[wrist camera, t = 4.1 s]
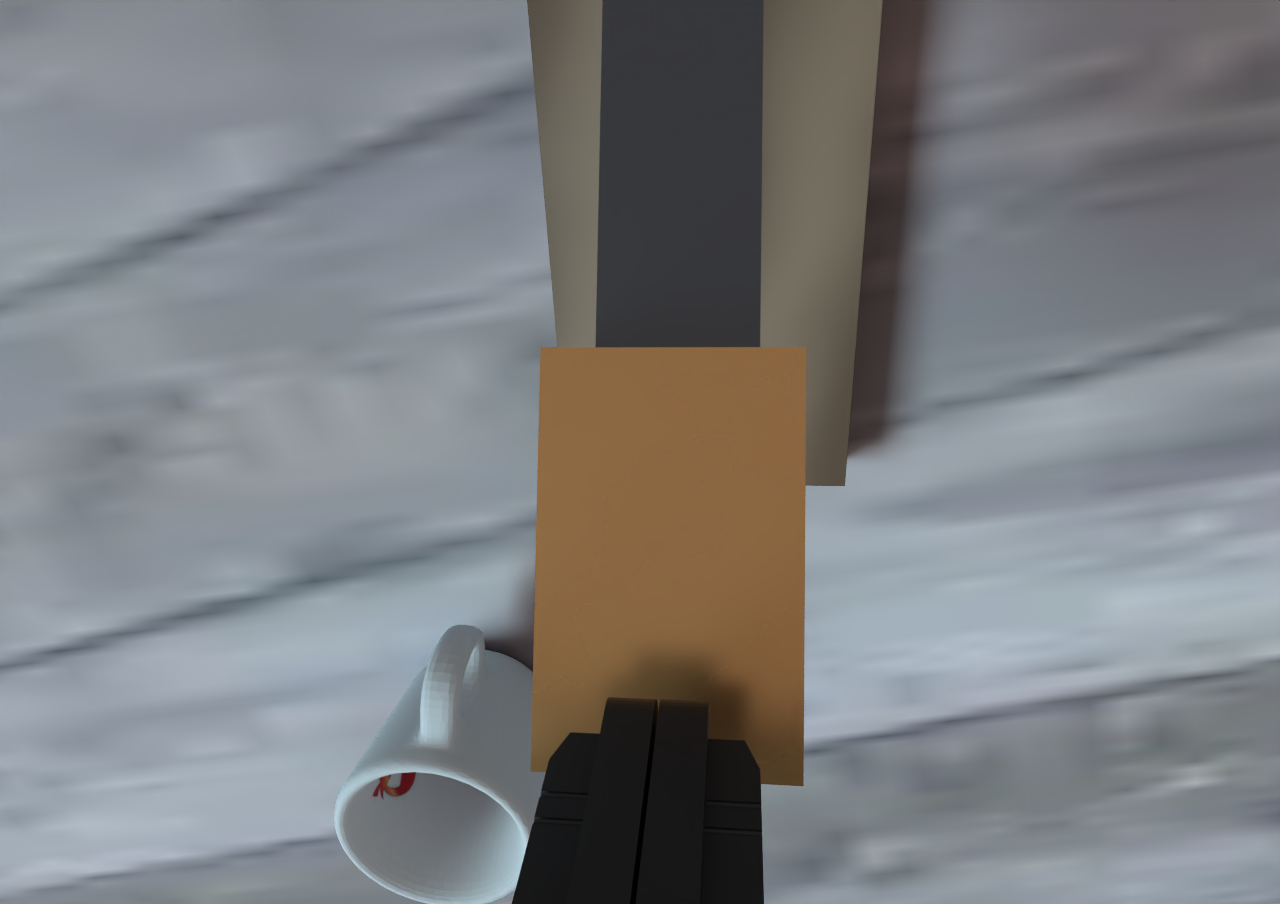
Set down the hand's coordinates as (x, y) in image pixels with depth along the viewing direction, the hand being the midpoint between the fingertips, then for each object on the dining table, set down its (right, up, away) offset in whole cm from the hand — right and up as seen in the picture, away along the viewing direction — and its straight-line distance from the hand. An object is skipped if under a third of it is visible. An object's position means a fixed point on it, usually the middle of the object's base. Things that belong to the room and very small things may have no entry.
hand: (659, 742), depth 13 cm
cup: (-7, -6, +26) cm, 28 cm away
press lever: (+1, +11, +5) cm, 12 cm away
